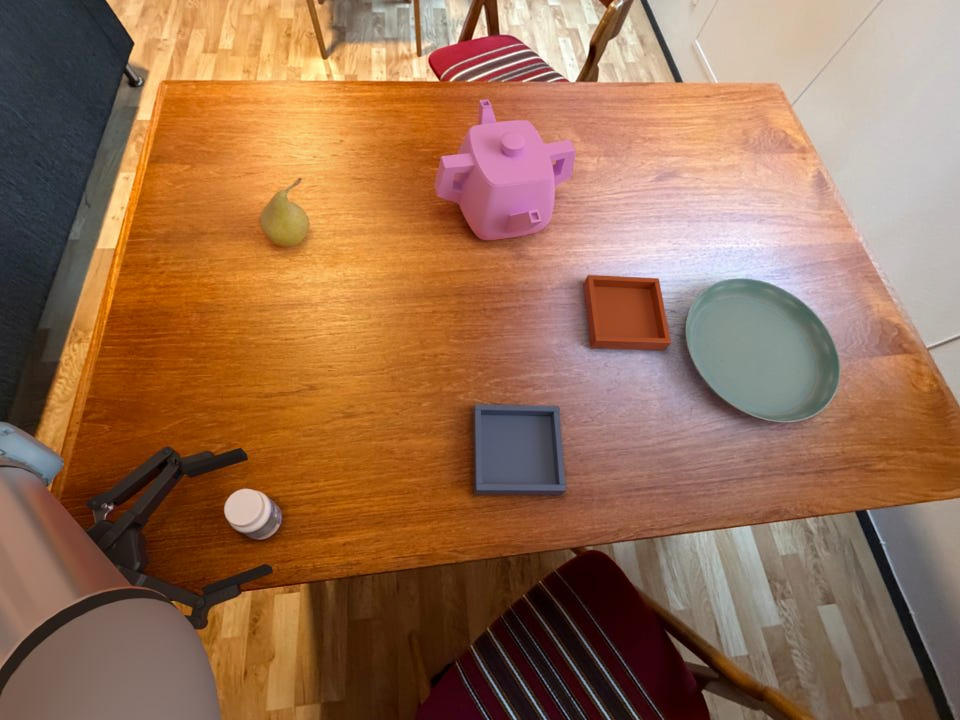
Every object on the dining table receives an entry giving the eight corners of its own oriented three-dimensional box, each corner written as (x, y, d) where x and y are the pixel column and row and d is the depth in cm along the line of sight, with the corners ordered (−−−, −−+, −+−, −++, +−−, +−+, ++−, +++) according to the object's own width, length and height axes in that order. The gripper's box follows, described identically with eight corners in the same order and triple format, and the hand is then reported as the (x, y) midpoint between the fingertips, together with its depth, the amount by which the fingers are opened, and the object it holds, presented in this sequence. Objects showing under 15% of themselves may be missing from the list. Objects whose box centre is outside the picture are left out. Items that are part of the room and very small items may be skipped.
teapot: (474, 152, 98) (484, 77, 84) (567, 194, 96) (593, 123, 82) (423, 226, 89) (424, 156, 76) (524, 273, 88) (544, 209, 74)
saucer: (718, 445, 78) (730, 438, 75) (652, 303, 88) (660, 292, 85) (856, 409, 83) (872, 401, 80) (779, 278, 93) (791, 267, 90)
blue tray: (561, 494, 73) (566, 490, 70) (474, 494, 71) (476, 490, 69) (554, 412, 78) (558, 405, 75) (473, 410, 76) (474, 404, 74)
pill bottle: (290, 518, 68) (275, 505, 60) (259, 548, 66) (239, 538, 58) (264, 492, 69) (246, 476, 61) (233, 521, 67) (210, 507, 59)
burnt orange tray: (664, 350, 84) (671, 343, 82) (590, 348, 83) (595, 340, 80) (652, 287, 89) (658, 278, 87) (583, 283, 88) (587, 274, 85)
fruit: (262, 226, 86) (240, 169, 75) (310, 215, 88) (295, 158, 77) (271, 259, 83) (250, 205, 73) (320, 248, 85) (307, 194, 75)
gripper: (58, 476, 65) (243, 421, 70) (77, 706, 56) (288, 622, 61) (17, 459, 58) (225, 399, 64) (31, 717, 49) (273, 622, 54)
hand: (257, 508), depth 62 cm, fingers open, 13 cm apart
